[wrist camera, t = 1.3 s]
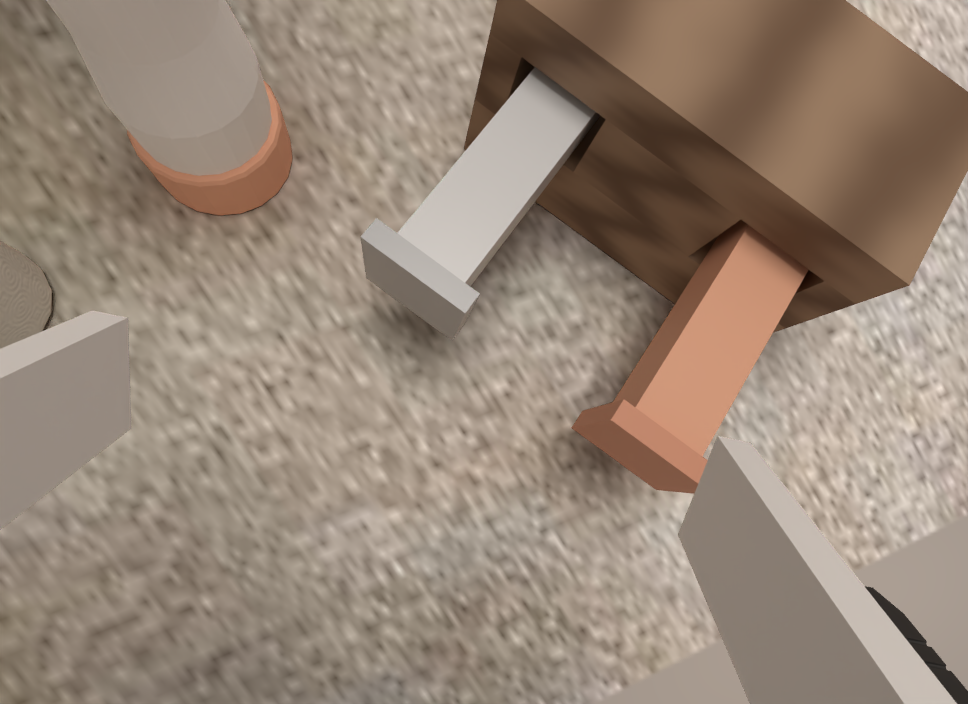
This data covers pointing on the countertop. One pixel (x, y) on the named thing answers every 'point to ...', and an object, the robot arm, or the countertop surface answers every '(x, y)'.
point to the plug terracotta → (697, 362)
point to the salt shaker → (186, 97)
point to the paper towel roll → (21, 297)
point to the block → (741, 135)
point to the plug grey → (477, 204)
